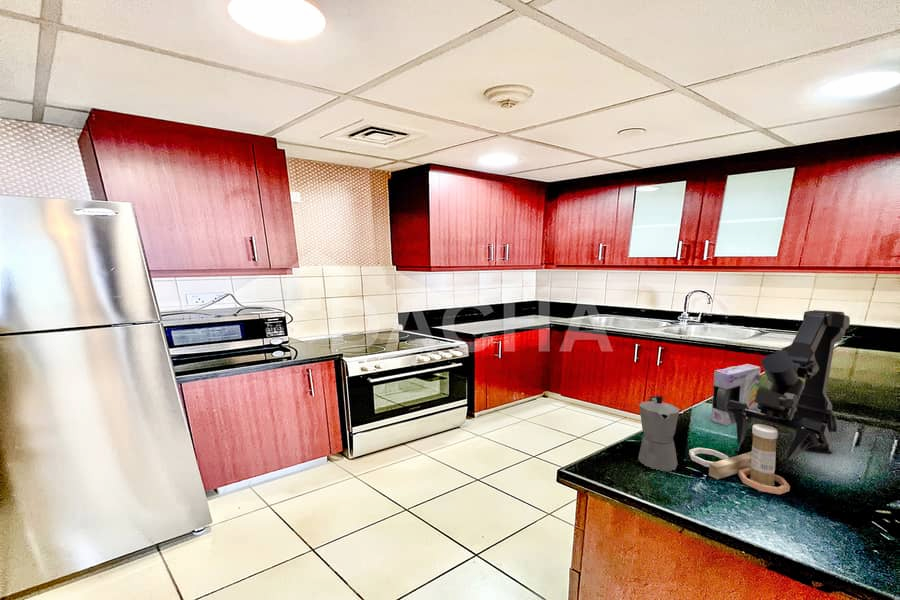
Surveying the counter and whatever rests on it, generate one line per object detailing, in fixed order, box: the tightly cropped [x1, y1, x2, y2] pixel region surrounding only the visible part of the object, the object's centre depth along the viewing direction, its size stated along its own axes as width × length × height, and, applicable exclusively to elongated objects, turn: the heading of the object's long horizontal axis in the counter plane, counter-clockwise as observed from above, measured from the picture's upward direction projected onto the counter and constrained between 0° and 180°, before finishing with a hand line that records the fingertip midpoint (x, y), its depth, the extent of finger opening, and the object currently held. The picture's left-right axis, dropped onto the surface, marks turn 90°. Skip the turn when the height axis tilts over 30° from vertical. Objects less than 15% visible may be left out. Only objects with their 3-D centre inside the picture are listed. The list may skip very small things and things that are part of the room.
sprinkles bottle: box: [749, 423, 779, 487], centre depth 88 cm, size 5×5×13 cm
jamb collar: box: [688, 447, 730, 468], centre depth 99 cm, size 9×9×1 cm
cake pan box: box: [711, 363, 761, 426], centre depth 125 cm, size 19×5×18 cm, turn 114°
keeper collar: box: [737, 468, 791, 495], centre depth 89 cm, size 9×9×1 cm
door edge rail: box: [708, 451, 752, 480], centre depth 94 cm, size 16×2×3 cm, turn 111°
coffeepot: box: [637, 395, 681, 472], centre depth 99 cm, size 15×9×18 cm, turn 162°
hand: (762, 451), depth 87 cm, fingers open, 9 cm apart
